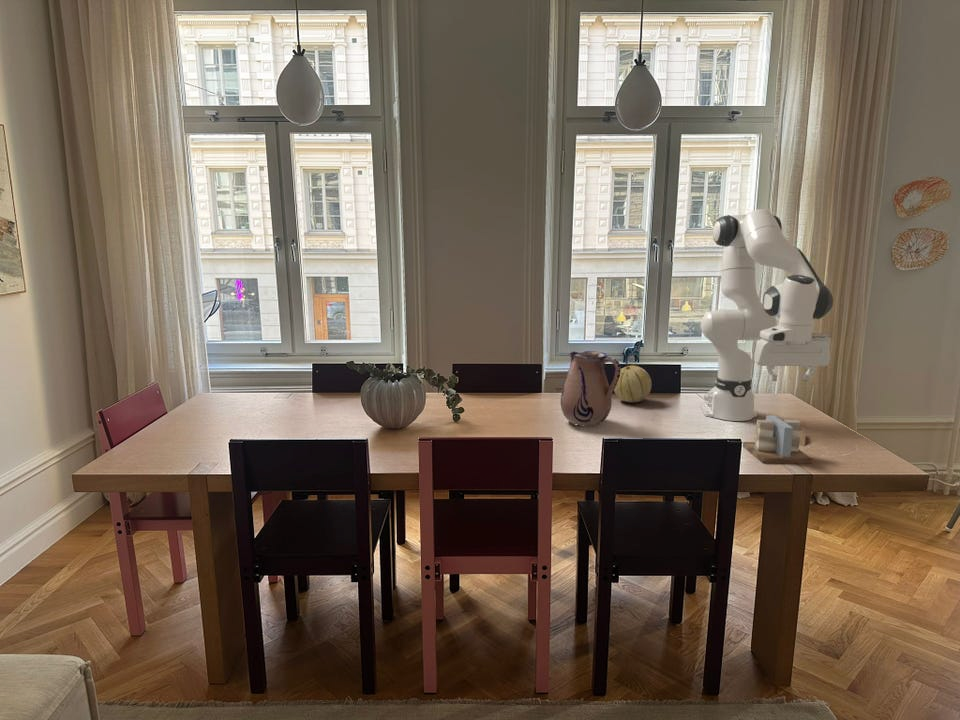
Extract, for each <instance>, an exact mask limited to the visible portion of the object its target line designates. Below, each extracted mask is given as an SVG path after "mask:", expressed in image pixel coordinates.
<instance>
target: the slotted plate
mask: <svg viewBox="0 0 960 720" xmlns="http://www.w3.org/2000/svg"><path fill="white" fill-rule="evenodd" d="M765 420H771V421H773V422H774V429H773V435H774V436H776V437H777V443H776V453H777V454H778V455H780V456H781V457H790V454H791V445H792V435H793V427H791V426H790V425H788V424H787V423H785V422H784V420H782V419H780V418H779V417H778V416H776V415H766V416H765Z"/></svg>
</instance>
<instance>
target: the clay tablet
mask: <svg viewBox="0 0 960 720" xmlns="http://www.w3.org/2000/svg"><path fill="white" fill-rule="evenodd" d="M805 444H806V432H803V431H801V432H800V441H799V446H803V447H804V446H805Z"/></svg>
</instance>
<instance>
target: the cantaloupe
mask: <svg viewBox="0 0 960 720" xmlns="http://www.w3.org/2000/svg"><path fill="white" fill-rule="evenodd" d="M651 391H652V379H651V376H650V375H649V373H648V372H647V371H646V370H645V369H644V368H643V367H640V366H639V365H627V366H624V367H622V368H621V374H620V377H619V380H618V383H617V385H616V387H615V389H614V391H613V393H615V395H616V397H618V399H620V400H621V401H623V402H626V403H632V404H633V403H638V402H641V401H644V399H646V398H647V397H648V396H649V394H650V393H651Z"/></svg>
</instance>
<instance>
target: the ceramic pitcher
mask: <svg viewBox="0 0 960 720" xmlns="http://www.w3.org/2000/svg"><path fill="white" fill-rule="evenodd" d="M569 354H570V364H569V369H568V371H567V374H566V378H565V380H564V383H563V387H562V390H561V395H560V409H561V412H562V414H563V416H564V417H565V418H566V420H567V421H569V422H570V423H571V424H572V423H573V425H574V424H577V425H586V426H585V427H594V425H595V426H598V425H600V424H602V423H603V422H604V421H605V420H606V419H607V418H608V416H609V415H610V413H611V411H612V395H613V393H614V389H615V387H616V385H617V383H618V380H619V377H620V374H621V369H622V368H621V364H620V362H619V361H618V360H617V359H616V358H615V357H610V356H608V354H607V353H606V352H601V351H595V350H586V351H583V352H578V351H570V352H569ZM609 362H610V363H612V364H613V366H614V369H615V370H614V376H613V379H612V381H611V383H610V384H609V381H608V377H607V375H606V371H605V367H604V366H605V364H606V363H609ZM577 425H576V426H577Z"/></svg>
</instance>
